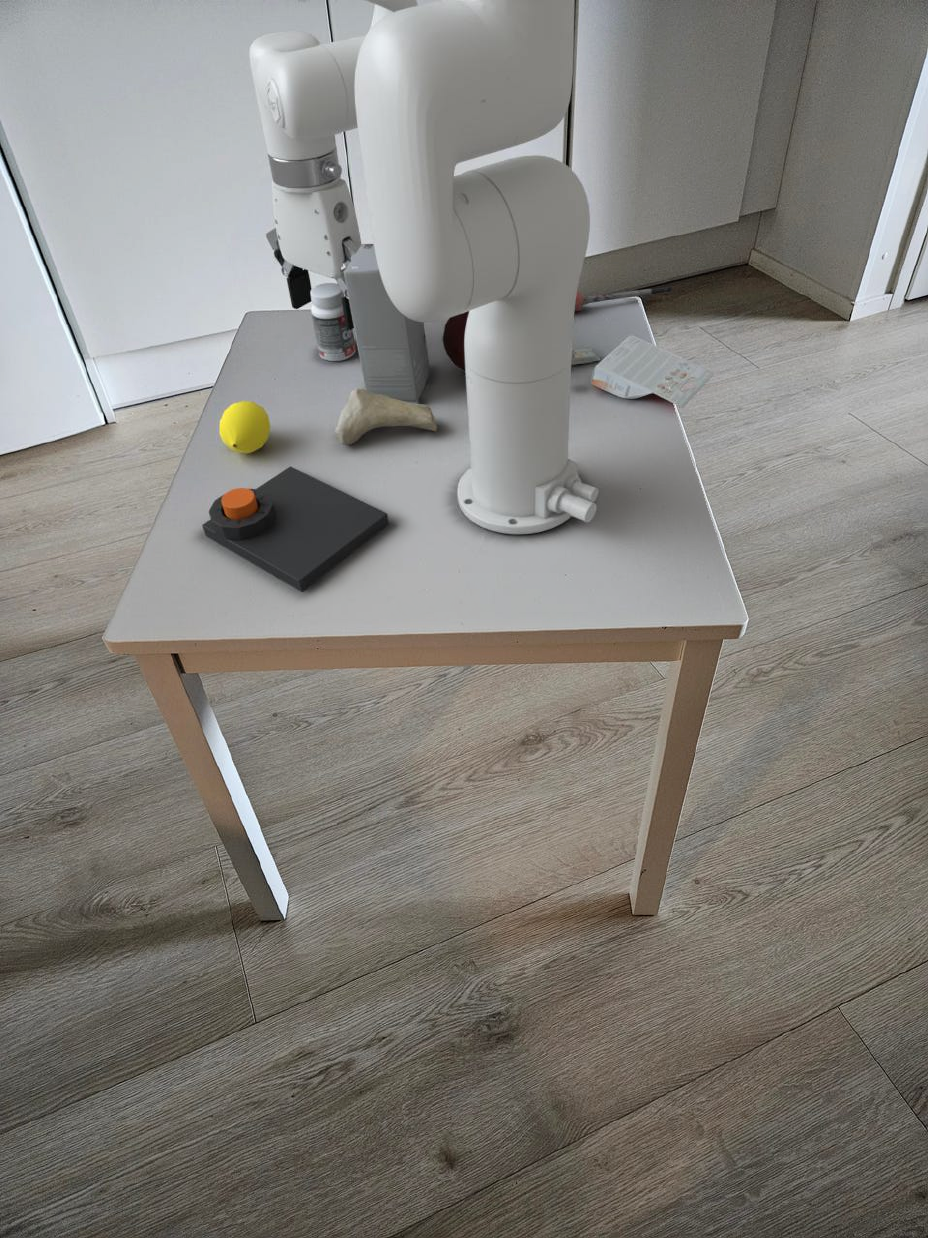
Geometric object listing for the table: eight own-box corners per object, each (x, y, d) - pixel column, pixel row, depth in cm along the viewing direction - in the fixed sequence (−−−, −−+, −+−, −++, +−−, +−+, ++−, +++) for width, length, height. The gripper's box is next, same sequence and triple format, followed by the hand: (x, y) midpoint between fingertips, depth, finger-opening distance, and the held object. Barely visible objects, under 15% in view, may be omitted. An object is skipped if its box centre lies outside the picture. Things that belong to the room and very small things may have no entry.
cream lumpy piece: (338, 452, 96) (331, 414, 92) (333, 422, 100) (326, 385, 97) (438, 436, 97) (435, 398, 93) (429, 408, 101) (426, 370, 98)
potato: (441, 360, 108) (435, 288, 102) (536, 349, 109) (536, 276, 103) (449, 396, 102) (444, 322, 96) (549, 384, 103) (551, 310, 96)
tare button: (264, 507, 85) (261, 495, 84) (239, 524, 83) (236, 512, 82) (243, 496, 87) (239, 483, 86) (218, 512, 85) (214, 500, 84)
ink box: (625, 349, 107) (707, 391, 104) (588, 383, 102) (674, 428, 99) (631, 329, 105) (716, 371, 102) (594, 362, 100) (682, 408, 97)
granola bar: (596, 346, 107) (604, 359, 105) (594, 354, 108) (601, 367, 106) (543, 345, 106) (550, 359, 104) (541, 354, 106) (548, 368, 105)
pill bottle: (353, 361, 110) (343, 297, 104) (317, 363, 110) (304, 299, 104) (357, 343, 113) (348, 280, 107) (322, 344, 113) (310, 282, 108)
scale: (389, 524, 86) (385, 500, 84) (301, 592, 80) (295, 568, 78) (292, 476, 93) (287, 453, 91) (204, 535, 87) (196, 512, 85)
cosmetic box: (418, 405, 102) (406, 272, 90) (359, 402, 103) (340, 270, 92) (432, 368, 108) (421, 239, 96) (376, 366, 109) (359, 238, 97)
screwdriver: (675, 303, 117) (666, 295, 120) (678, 281, 115) (668, 273, 118) (498, 327, 114) (492, 318, 116) (497, 305, 112) (491, 296, 114)
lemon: (238, 429, 100) (226, 387, 96) (283, 431, 99) (273, 389, 96) (216, 465, 95) (203, 422, 92) (263, 467, 95) (251, 425, 91)
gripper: (385, 171, 94) (401, 320, 106) (276, 143, 102) (303, 285, 114) (336, 193, 90) (359, 346, 102) (227, 163, 98) (260, 308, 110)
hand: (329, 314), depth 108 cm, fingers open, 9 cm apart
